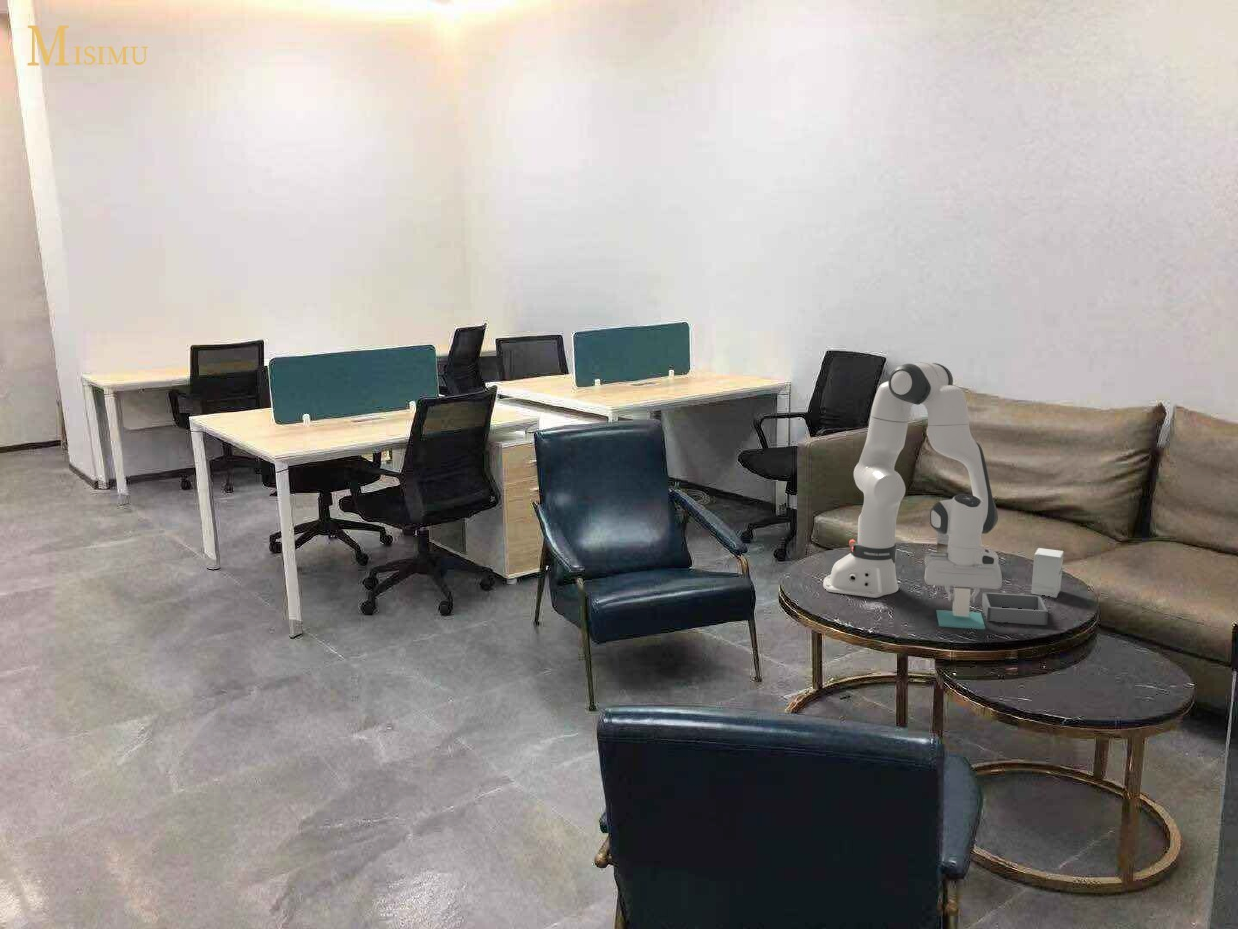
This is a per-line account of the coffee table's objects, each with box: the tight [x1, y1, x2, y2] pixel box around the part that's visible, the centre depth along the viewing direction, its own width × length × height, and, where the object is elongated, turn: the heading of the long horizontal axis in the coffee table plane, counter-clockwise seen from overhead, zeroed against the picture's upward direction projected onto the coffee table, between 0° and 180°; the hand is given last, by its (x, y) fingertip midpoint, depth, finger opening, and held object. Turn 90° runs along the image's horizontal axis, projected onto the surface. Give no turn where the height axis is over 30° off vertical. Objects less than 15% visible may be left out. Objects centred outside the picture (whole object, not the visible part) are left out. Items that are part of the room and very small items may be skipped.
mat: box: [935, 609, 986, 630], centre depth 277 cm, size 12×11×1 cm
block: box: [951, 587, 971, 617], centre depth 276 cm, size 4×4×8 cm
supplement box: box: [1030, 547, 1065, 599], centre depth 296 cm, size 7×7×13 cm
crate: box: [981, 592, 1049, 626], centre depth 280 cm, size 16×13×4 cm
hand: (961, 601), depth 276 cm, fingers closed on block, 4 cm apart
